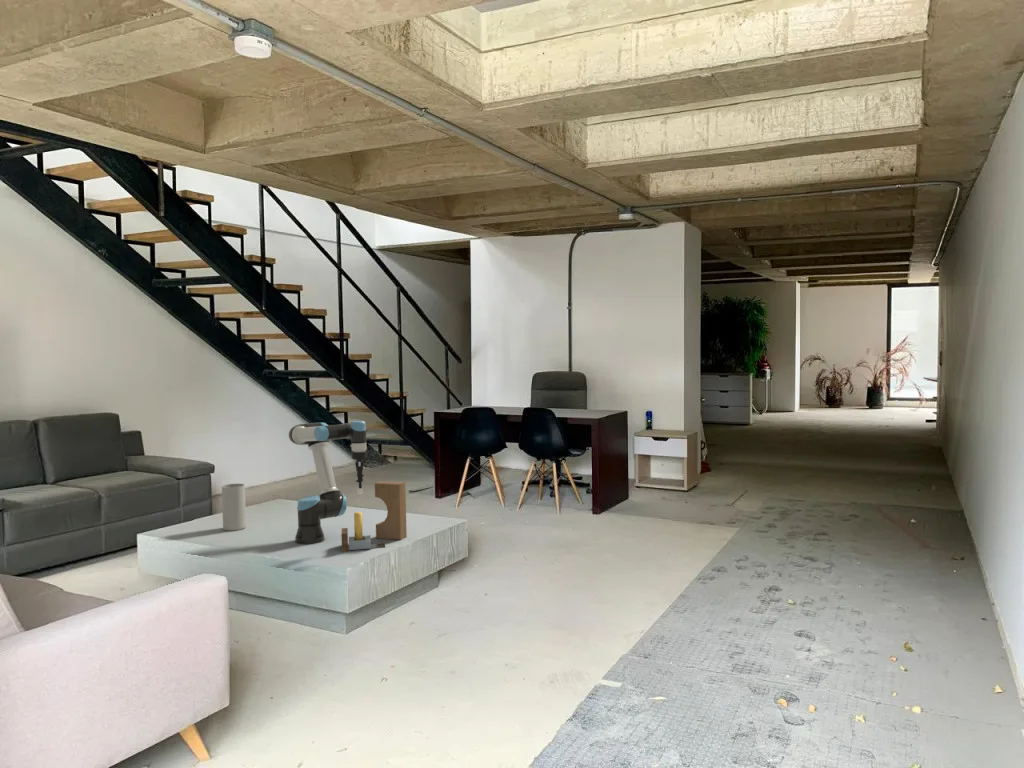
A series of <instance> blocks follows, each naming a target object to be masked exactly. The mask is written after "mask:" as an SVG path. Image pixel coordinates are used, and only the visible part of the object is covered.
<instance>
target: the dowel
mask: <svg viewBox="0 0 1024 768" xmlns="http://www.w3.org/2000/svg"><path fill="white" fill-rule="evenodd" d="M353 519H354V522H353V523H354V524H353V525H354V536H355V540H363V536H364V535H363V534H364V533H363V513H362V511H361V512H360V511H356V512H354V513H353Z"/></svg>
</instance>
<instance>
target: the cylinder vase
mask: <svg viewBox="0 0 1024 768" xmlns="http://www.w3.org/2000/svg"><path fill="white" fill-rule="evenodd" d="M245 489H246V484H245V483H229V484H223V485H222V486H221V507H222V529H223V530H224V531H231V532H235V531H242V530H244V529H245V528H246V527H247V515H246V514H247V513H246V512H247V511H246V490H245Z"/></svg>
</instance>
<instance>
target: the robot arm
mask: <svg viewBox="0 0 1024 768" xmlns="http://www.w3.org/2000/svg"><path fill="white" fill-rule="evenodd" d="M288 438H289V441H290V442H292V444H295V445H298V446H299V445H300V446H306V445H307V447H308V450H310V451H311V452H312V456H313V461H314V466H315V470H316V475H317V480H318V483H319V489H320V493H319V494H317V495H316V494H313V495H307V496H304V497H301V498H300V499H298V501H297V509H296V510H297V526H298V527H297V529H296V534H295V536H294V537H295V538H294V539H295V541H294V542H295V543H297V544H302V545H303V544H305V545H306V544H316V543H321V542H323V541H324V540H325V534H324V530H323V527H322V525H321V520H325V519H330V518H337V517H340V516H343V515H344V514H345V513H346V510H347V506H348V500H347V497H346V495H345V494H343V493H341V489H339V488H338V487H337V484H336V479H335V474H334V471H333V466H332V465H333V464H332V461H331V457H330V452H329V449H328V448H329V445H330V442H331V441H332V440H333V441H334V440H342V439H350V441H351V444H350V446H349V447H351V451H352V452H351V459H352V460H356V462H355V469H356V480H355V483H356V485H357V486H356V487H357V495H358V496H359V495H361V496H362V495H364V478H363V477H364V474H363V470H364V461H363V460H365V459H367V456H368V454H367V448H368V447H367V426H366V422H365V420H352V421H351V422H350V423H349V422H346V423H345V422H343V423H341V424H327V423H326V422H311V423H299V424H295V425H294V426H292V427H291V428H290V429H289V431H288Z"/></svg>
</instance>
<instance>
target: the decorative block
mask: <svg viewBox="0 0 1024 768" xmlns="http://www.w3.org/2000/svg"><path fill="white" fill-rule="evenodd" d="M374 497H375V498H378V499H380V500H381V501H382V502H384V504H385V506H386V509H387V514H386V517H385V520H383V521H381V522H378V523H376V524H375V539H382V540H383V539H385V540H386V539H387V540H396V541H397V540H400V541H401V540H403V539H406V538H407V537H408V535H407V534H408V533H407V532H408V531H407V503H406V502H407V500H406V498H407V495H406V482H405V481H388V480H387V481H385V480H380V481H376V482H374Z"/></svg>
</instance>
